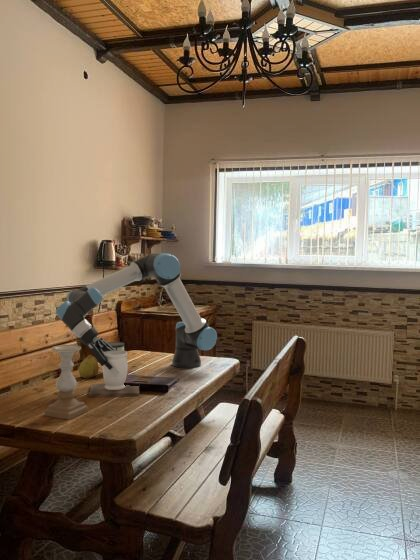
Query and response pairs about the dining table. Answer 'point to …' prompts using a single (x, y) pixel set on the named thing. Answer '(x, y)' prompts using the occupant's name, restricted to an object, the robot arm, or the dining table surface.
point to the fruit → (88, 367)
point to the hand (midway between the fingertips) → (121, 370)
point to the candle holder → (66, 387)
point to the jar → (121, 364)
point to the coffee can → (117, 345)
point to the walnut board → (112, 391)
